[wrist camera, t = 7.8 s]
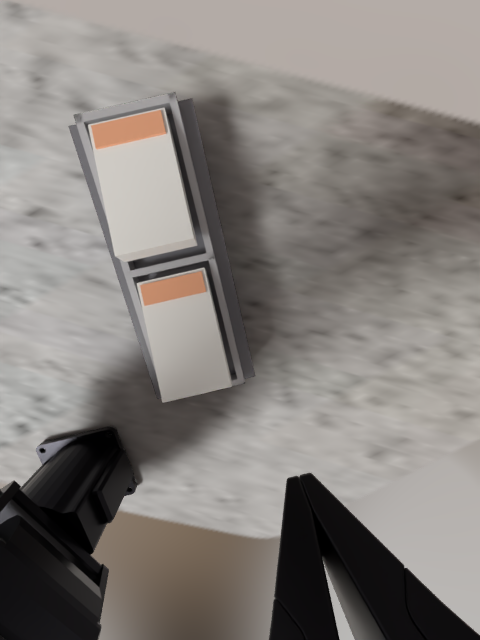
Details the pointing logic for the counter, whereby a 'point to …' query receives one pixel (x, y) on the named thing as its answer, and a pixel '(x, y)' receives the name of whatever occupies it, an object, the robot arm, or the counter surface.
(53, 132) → the counter surface
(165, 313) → the block
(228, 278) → the rocker switch panel
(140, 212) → the rocker
